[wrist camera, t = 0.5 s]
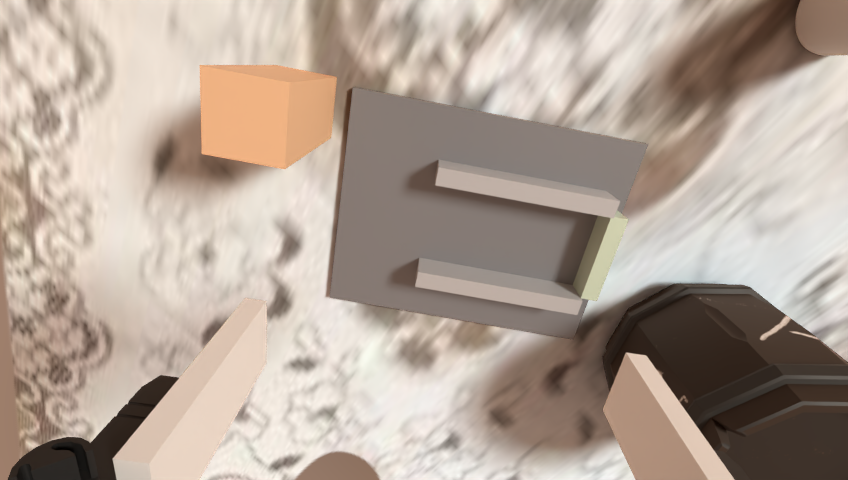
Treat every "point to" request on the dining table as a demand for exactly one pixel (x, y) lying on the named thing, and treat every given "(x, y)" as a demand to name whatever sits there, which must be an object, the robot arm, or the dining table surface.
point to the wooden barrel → (744, 378)
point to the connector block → (264, 112)
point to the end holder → (478, 213)
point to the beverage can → (823, 26)
